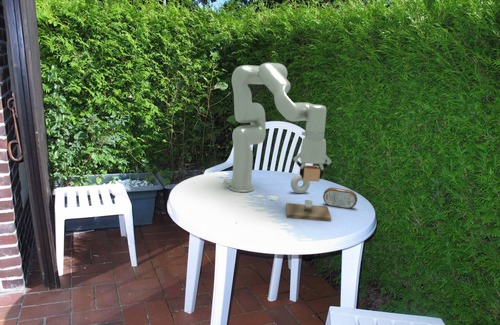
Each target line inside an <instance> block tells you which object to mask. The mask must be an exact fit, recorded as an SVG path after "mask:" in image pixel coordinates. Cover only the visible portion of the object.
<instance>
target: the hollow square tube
mask: <svg viewBox="0 0 500 325" xmlns="http://www.w3.org/2000/svg"><path fill="white" fill-rule="evenodd" d="M319 178H320V165H310V164H309V165H307V164H305V165H304V176H303V181H310V182H317V183H318V182H320V179H319ZM303 181H302V182H303Z"/></svg>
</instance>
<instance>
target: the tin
mask: <svg viewBox="0 0 500 325" xmlns="http://www.w3.org/2000/svg"><path fill="white" fill-rule="evenodd" d="M322 197H323V199H322V200H323V202H324V203H325V204H326V206H328V207H329V206H330V207H335V208H341V209H345V210H346V209H347V210H349V209H352V208H354V207H355V206H356V205H357V202H358V197H357V194H356V193H355V192H354V191H353V190H351V189H344V188H338V187H333V186H332V187H328V188H326V189H325V191H324V192H323V195H322Z"/></svg>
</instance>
